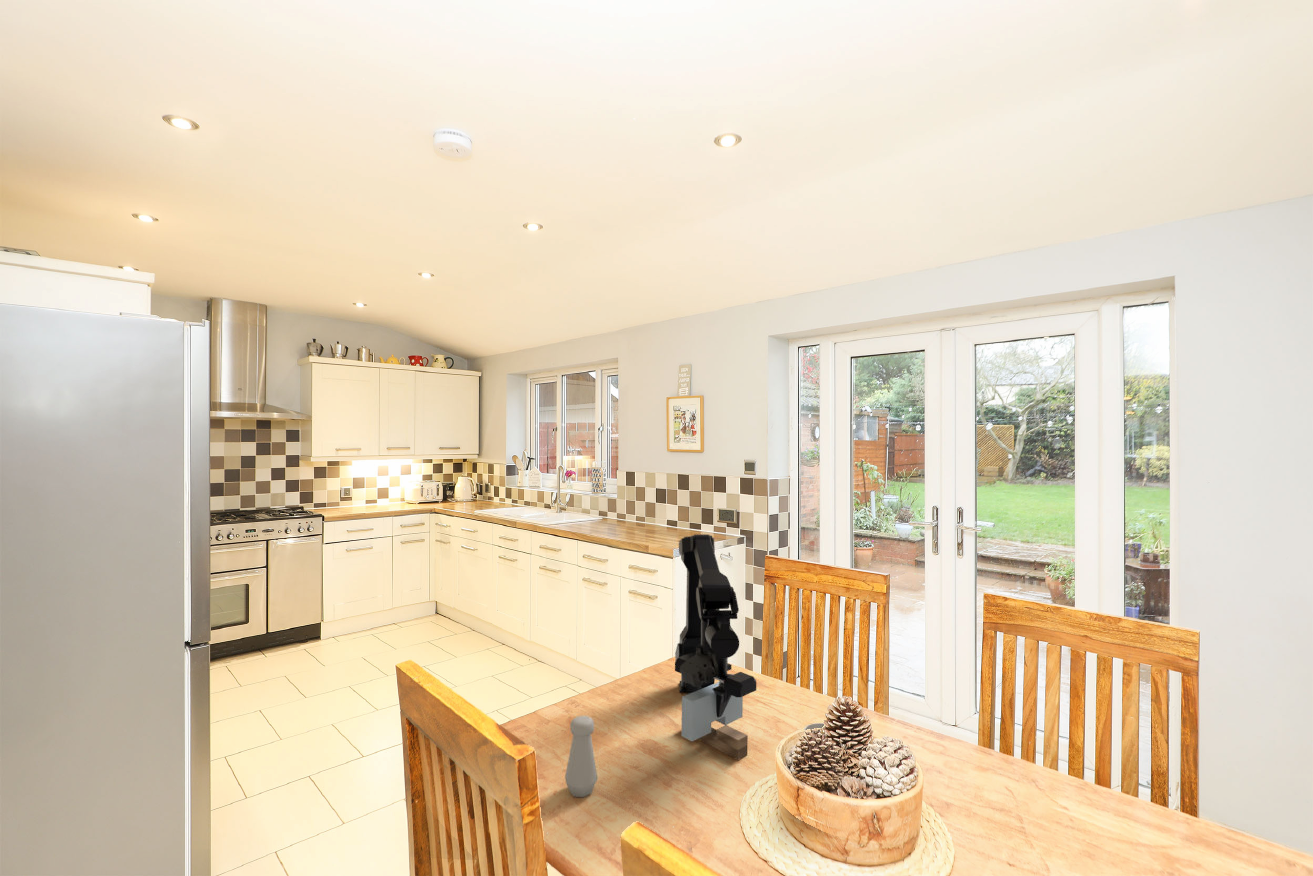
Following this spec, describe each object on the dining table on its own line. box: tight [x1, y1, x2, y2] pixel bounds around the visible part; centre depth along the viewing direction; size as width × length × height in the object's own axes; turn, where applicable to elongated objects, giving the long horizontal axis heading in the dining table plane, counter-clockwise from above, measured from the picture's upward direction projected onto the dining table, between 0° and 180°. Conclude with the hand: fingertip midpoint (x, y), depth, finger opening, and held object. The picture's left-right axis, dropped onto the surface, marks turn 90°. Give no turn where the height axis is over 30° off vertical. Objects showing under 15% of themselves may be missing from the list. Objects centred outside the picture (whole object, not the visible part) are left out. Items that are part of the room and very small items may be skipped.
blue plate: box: [680, 681, 744, 742], centre depth 124 cm, size 16×3×8 cm, turn 133°
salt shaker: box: [564, 715, 598, 798], centre depth 106 cm, size 6×6×13 cm
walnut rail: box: [697, 724, 749, 761], centre depth 123 cm, size 16×3×4 cm, turn 43°
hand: (713, 714), depth 124 cm, fingers closed on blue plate, 3 cm apart
